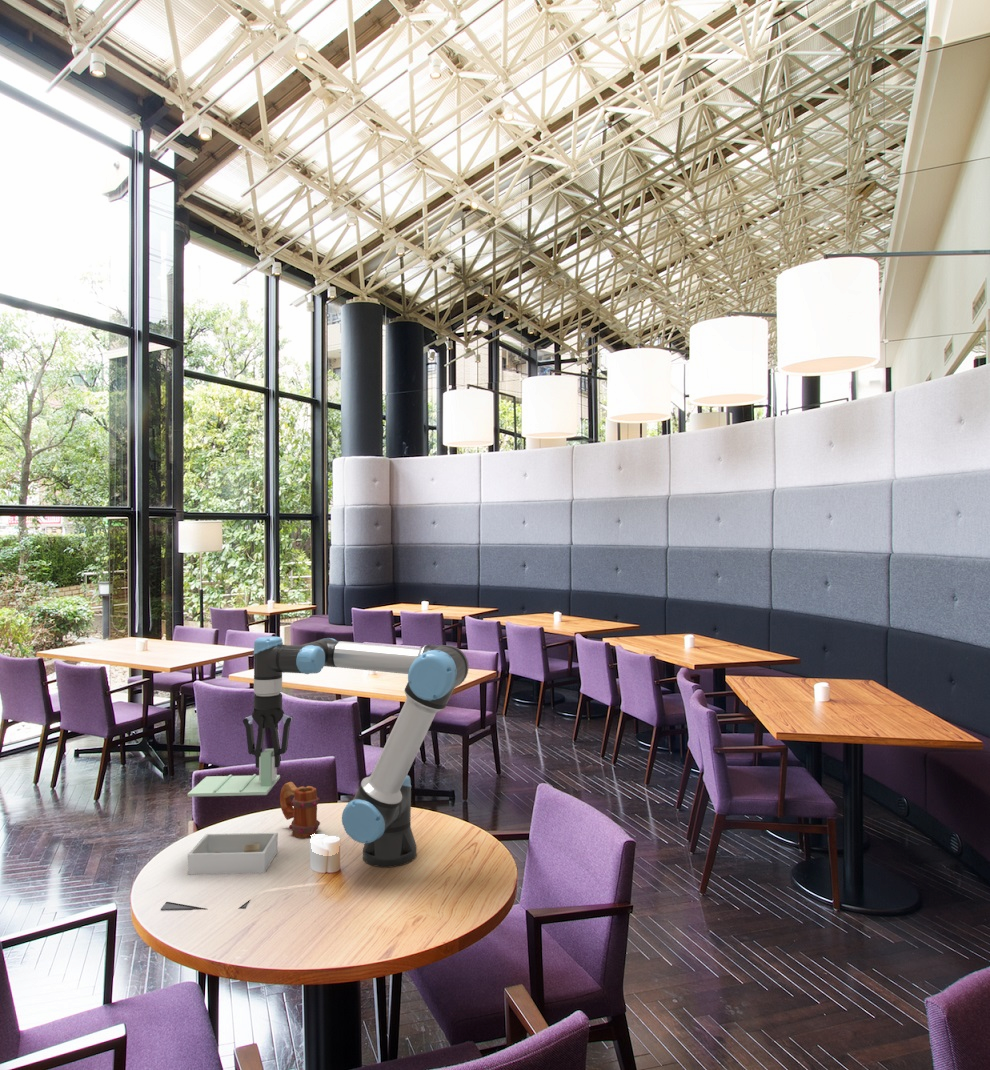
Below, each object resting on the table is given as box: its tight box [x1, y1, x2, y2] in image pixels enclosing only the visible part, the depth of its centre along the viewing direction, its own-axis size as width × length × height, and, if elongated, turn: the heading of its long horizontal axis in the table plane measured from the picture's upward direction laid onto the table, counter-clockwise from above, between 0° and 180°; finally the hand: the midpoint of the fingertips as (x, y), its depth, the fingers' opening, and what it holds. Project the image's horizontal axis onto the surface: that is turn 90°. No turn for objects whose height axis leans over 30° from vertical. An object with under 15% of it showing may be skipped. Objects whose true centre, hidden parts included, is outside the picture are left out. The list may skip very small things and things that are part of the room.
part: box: [244, 844, 259, 852], centre depth 203 cm, size 4×4×3 cm
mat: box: [160, 899, 251, 911], centre depth 184 cm, size 20×15×1 cm
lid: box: [186, 748, 281, 798], centre depth 201 cm, size 21×15×10 cm
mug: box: [279, 781, 321, 839], centre depth 222 cm, size 15×8×15 cm, turn 58°
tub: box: [187, 832, 279, 876], centre depth 201 cm, size 20×14×6 cm
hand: (268, 779), depth 201 cm, fingers closed on lid, 3 cm apart
